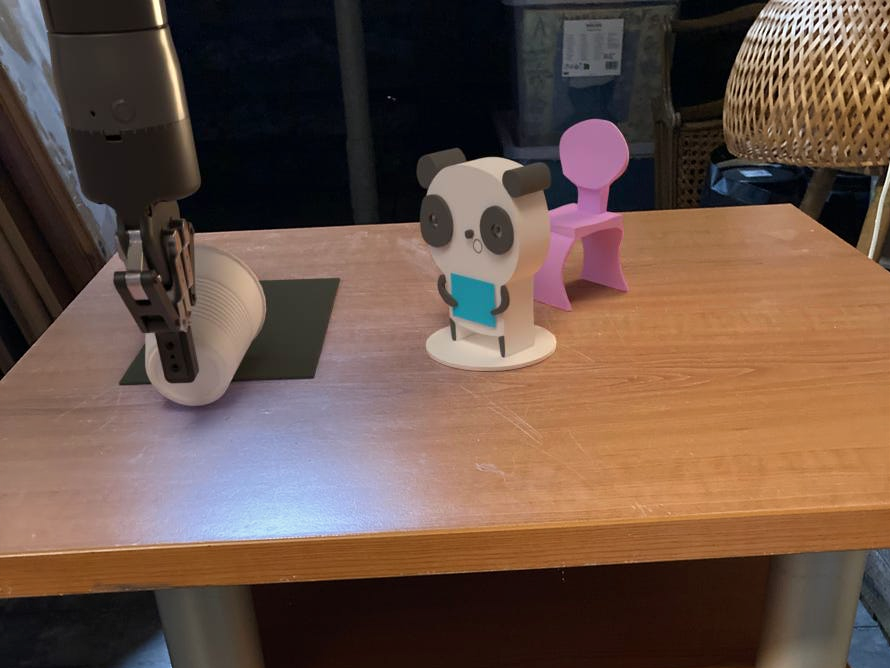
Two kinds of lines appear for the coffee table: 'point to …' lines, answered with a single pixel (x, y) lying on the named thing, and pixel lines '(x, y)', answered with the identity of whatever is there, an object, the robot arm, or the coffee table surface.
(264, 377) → the mat
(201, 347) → the cup
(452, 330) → the panda figurine
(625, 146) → the toy chair
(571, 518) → the coffee table surface
